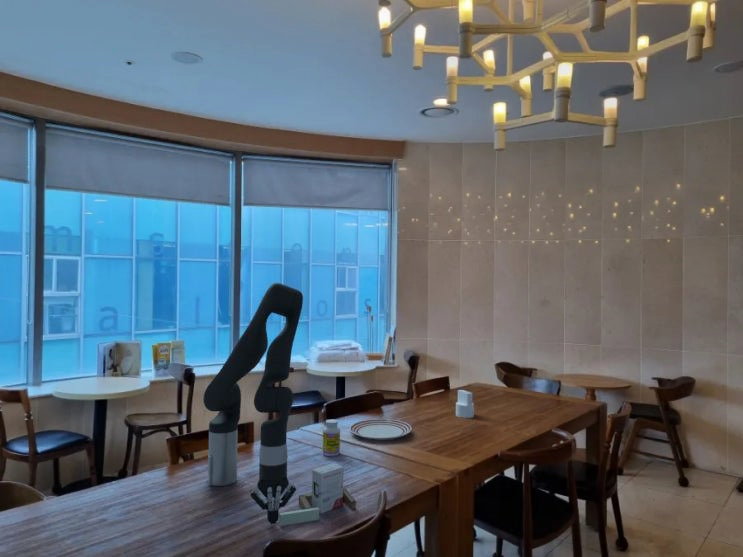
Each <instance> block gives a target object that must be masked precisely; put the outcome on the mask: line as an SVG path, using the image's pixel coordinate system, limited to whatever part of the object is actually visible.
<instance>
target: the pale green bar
mask: <svg viewBox="0 0 743 557" xmlns="http://www.w3.org/2000/svg"><path fill="white" fill-rule="evenodd" d="M319 520H320V513H319V508H318V507H317V508H312V507H311V509H304V510H302V509H299V510H292V511H286V512H279V519H278V521H279V523H278V524H279V527H283V526H288V525H289V526H290V525H296V524H302V523H306V522H313V521H315V522H316V521H319Z"/></svg>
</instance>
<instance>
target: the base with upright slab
mask: <svg viewBox="0 0 743 557" xmlns="http://www.w3.org/2000/svg"><path fill="white" fill-rule="evenodd" d="M455 416H456V417H458V418H462V417H463V419H470V418H471V419H472V418H474V416H475V403H473V392H471V391H467V390H464V389H458V390H457V401H456V402H455Z"/></svg>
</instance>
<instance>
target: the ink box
mask: <svg viewBox="0 0 743 557" xmlns="http://www.w3.org/2000/svg"><path fill="white" fill-rule="evenodd" d="M311 473H312V474H311V476H312V477H311V479H312V480H311V481H312V482H311V493H312V504H311V508H317V507H318V508H319V514H324V513H327V512H328V511H329V512H330V511H331V510H334V509H336V508H339V507H341V506H343V504H344V500H343V489H344V467H343V466H341V465H339V464H337V463H334V462H333V463H329V464H326V465H322V466H320V467H316V468H313V469H312V472H311Z"/></svg>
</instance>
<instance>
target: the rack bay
mask: <svg viewBox="0 0 743 557" xmlns="http://www.w3.org/2000/svg"><path fill="white" fill-rule="evenodd" d="M343 502H344V503H345V505H346V506H347V507H348V508H349V510H351V511H352V510H356V509H357V500H356V499H355V498H354V497H353V495H352V494H351V493H350V491H349V490H348V489H347V488H343ZM298 505H299V507H300V508H301V509H300V510H304V509H311V508H312V492H311V493H306V494H298Z"/></svg>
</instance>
